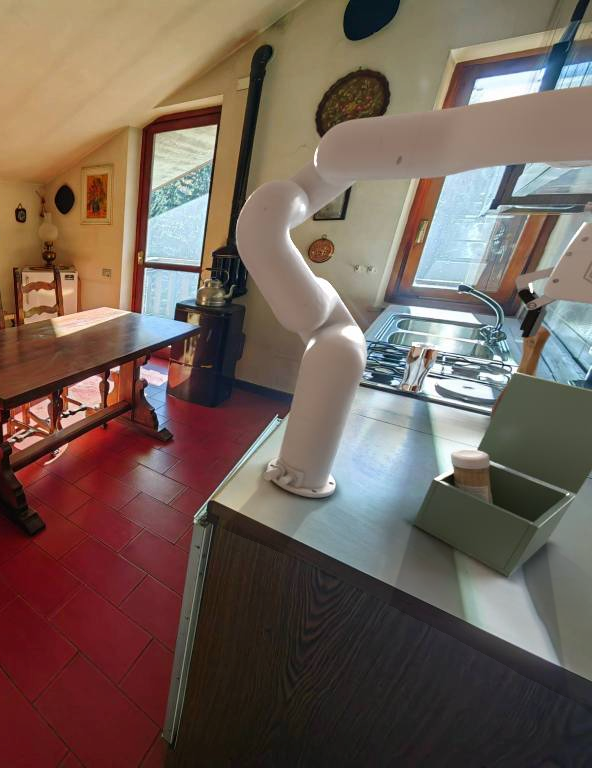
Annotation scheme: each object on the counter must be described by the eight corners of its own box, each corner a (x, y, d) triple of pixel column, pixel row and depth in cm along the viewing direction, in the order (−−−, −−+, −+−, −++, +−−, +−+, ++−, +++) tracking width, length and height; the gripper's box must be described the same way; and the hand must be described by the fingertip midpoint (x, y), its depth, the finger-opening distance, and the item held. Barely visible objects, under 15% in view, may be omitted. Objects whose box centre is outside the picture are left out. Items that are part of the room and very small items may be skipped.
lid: (635, 401, 55) (645, 394, 58) (513, 372, 66) (526, 367, 68) (576, 494, 62) (587, 484, 64) (474, 454, 72) (487, 447, 74)
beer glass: (390, 386, 129) (406, 343, 123) (405, 384, 131) (421, 341, 125) (412, 395, 122) (430, 349, 117) (428, 392, 124) (446, 348, 119)
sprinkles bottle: (498, 525, 66) (492, 450, 64) (490, 537, 64) (484, 460, 62) (462, 517, 70) (455, 446, 68) (453, 528, 68) (446, 455, 66)
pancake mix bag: (480, 434, 100) (530, 328, 89) (482, 411, 112) (526, 316, 102) (517, 444, 96) (575, 334, 85) (515, 419, 108) (565, 320, 97)
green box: (508, 577, 59) (538, 527, 55) (412, 524, 69) (432, 478, 66) (546, 542, 66) (575, 496, 62) (453, 498, 76) (474, 456, 72)
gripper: (536, 210, 53) (483, 333, 59) (782, 208, 39) (677, 369, 45) (556, 212, 56) (503, 328, 63) (790, 210, 42) (690, 360, 48)
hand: (576, 345), depth 54 cm, fingers open, 9 cm apart
